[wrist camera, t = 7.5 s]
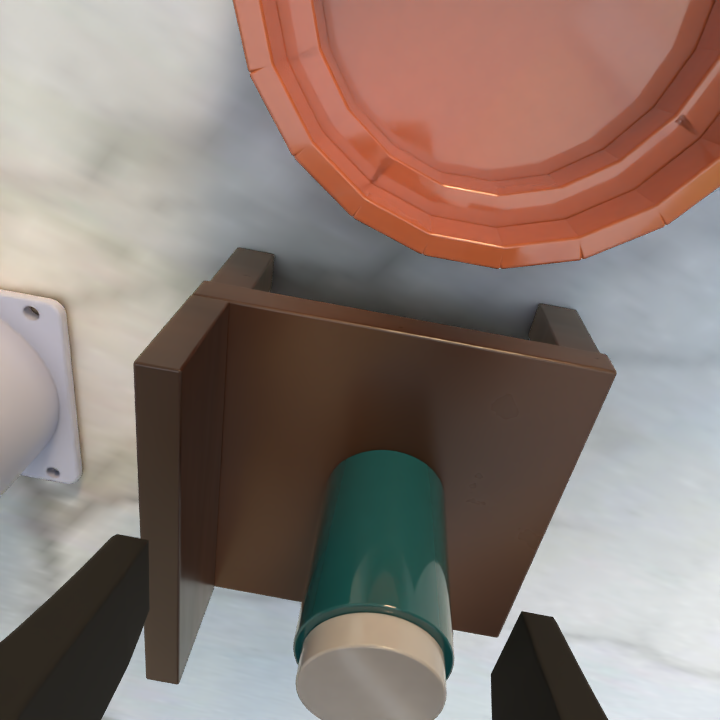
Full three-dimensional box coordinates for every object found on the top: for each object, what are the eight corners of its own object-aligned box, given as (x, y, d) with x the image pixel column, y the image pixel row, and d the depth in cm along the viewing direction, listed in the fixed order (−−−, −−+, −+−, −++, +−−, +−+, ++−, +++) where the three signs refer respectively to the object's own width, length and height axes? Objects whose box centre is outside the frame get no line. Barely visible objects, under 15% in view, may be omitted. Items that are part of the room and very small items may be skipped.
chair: (220, 501, 24) (145, 679, 17) (234, 242, 18) (132, 361, 12) (486, 550, 24) (512, 746, 17) (580, 307, 18) (670, 461, 12)
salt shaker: (318, 528, 18) (278, 724, 13) (333, 438, 17) (294, 625, 11) (430, 549, 18) (435, 753, 13) (458, 461, 17) (476, 658, 11)
